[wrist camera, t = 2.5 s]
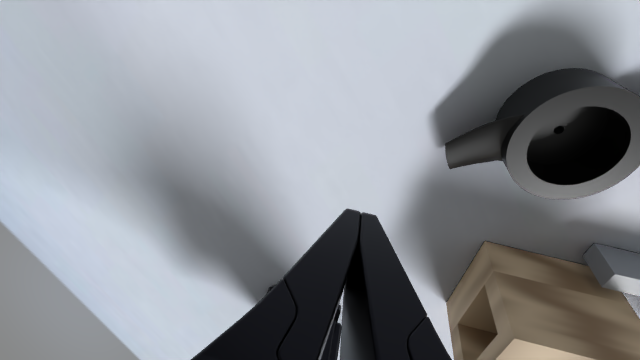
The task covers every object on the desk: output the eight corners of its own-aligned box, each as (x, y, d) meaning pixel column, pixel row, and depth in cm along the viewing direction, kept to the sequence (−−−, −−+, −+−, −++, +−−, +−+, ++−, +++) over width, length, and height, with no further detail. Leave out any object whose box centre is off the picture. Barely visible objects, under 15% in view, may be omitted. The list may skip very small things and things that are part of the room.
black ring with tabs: (503, 16, 16) (522, 27, 13) (709, 83, 16) (765, 106, 13) (430, 153, 20) (435, 180, 18) (590, 205, 20) (617, 239, 18)
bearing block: (446, 303, 27) (459, 398, 21) (484, 240, 23) (514, 338, 17) (549, 329, 26) (592, 434, 20) (607, 270, 22) (680, 381, 16)
